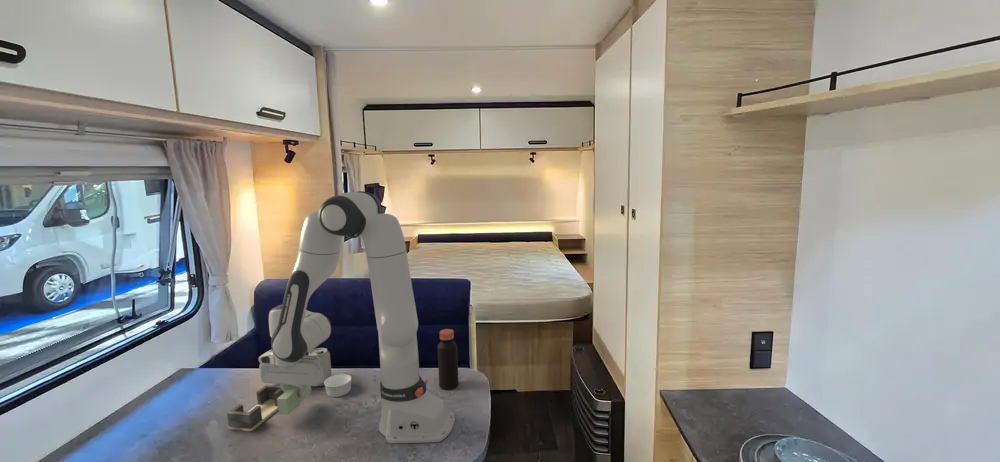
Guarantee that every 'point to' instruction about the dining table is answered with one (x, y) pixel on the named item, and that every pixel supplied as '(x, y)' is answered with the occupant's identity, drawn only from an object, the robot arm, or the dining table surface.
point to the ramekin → (338, 385)
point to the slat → (291, 399)
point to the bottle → (447, 360)
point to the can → (323, 361)
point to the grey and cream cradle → (255, 410)
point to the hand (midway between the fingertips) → (295, 396)
